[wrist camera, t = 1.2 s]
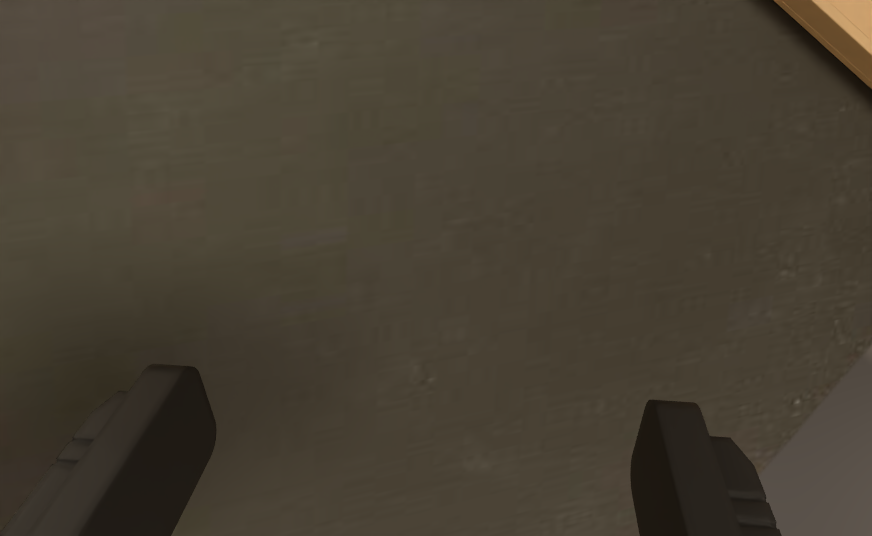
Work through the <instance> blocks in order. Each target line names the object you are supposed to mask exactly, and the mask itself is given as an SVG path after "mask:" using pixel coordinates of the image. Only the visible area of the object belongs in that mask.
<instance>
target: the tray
mask: <svg viewBox="0 0 872 536" xmlns="http://www.w3.org/2000/svg"><path fill="white" fill-rule="evenodd" d="M774 1H775V2H776V3H777V4H778V5H779V6H780V7H781V8H782V9H783V10H785V11H786V12H787V13H788V14H789V15H790V16H791V17H792V18H793V19H795V20H796V21H797V22H798V23H799V24H800V25H801V26H802V27H803V28H805V29H806V30H807V31H808V32H809V33H810V34H811V35H812V36H813V37H814V38H816V39H817V40H818V41H819V42H820V43H821V44H822V45H823V46H824V47H826V48H827V49H828V50H829V51H830V52H831V53H832V54H833V55H834V56H835V57H837V58H838V59H839V60H840V61H841V62H842V63H843V64H844V65H845V66H847V67H848V68H849V69H850V70H851V71H852V72H853V73H854V74H855V75H856V76H858V77H859V78H860V79H861V80H862V81H863V82H864V83H865V84H866V85H868V86H869V87H870V88H871V89H872V0H774Z"/></svg>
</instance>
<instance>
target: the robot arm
mask: <svg viewBox="0 0 872 536" xmlns="http://www.w3.org/2000/svg"><path fill="white" fill-rule="evenodd" d="M72 438H73V440H72V442H71V443H68V444H67V445H66V447H65V448H64V449H63V451H62V452H61V453H60V455H59V456H58V457H57V462H56V463H55V464H52V465H51V466H50V468H49V469H48V470H47V472H46V473H45V474H44V476H43V477H42V478H41V480H40V481H39V482H38V484H37V485H36V486H35V488H34V489H33V490H32V492H31V493H30V494H29V496H28V497H27V498H26V500H25V501H24V502H23V503H22V505H21V506H20V507H19V509H18V510H17V511H16V513H15V514H14V515H13V517H12V518H11V519H10V521H9V522H8V523H7V525H6V526H5V527H4V529H3V530H2V531H1V533H0V536H171V534H172V533H173V531H174V529H175V527H176V525H177V523H178V521H179V519H180V517H181V515H182V513H183V511H184V509H185V507H186V505H187V503H188V501H189V499H190V497H191V495H192V493H193V491H194V489H195V487H196V485H197V483H198V481H199V479H200V477H201V475H202V473H203V471H204V469H205V467H206V465H207V463H208V461H209V459H210V457H211V455H212V452H213V449H214V445H215V440H216V422H215V419H214V416H213V413H212V410H211V407H210V404H209V401H208V398H207V395H206V392H205V389H204V386H203V383H202V380H201V377H200V374H199V372H198V370H197V369H196V368H195V367H190V366H175V365H161V364H152V365H150V366H148V367H147V368H146V369H145V370H144V371H143V372H142V373H141V375H140V376H139V378H138V379H137V380H136V382H135V383H134V385H133V386H132V387H131V389H130V390H129V392H126V391H118V392H117V393H116V394H114V395H113V396H112V397H111V398H109V399H108V400H107V401H105V402H104V403H103V404H101V405H100V406H99V407H98V408H96V409H95V410H94V411H92V412H91V414H90V415H89V416H88V418H87V419H86V420H85V421H84V423H83V424H82V425H81V427H80V428H79V429H78V431H77V432H76V433H75V435H74V436H73V437H72ZM631 489H632V496H633V501H634V507H635V512H636V517H637V523H638V528H639V534H640V536H781V533H780V530H779V529H777V528H776V520H775V518H774V515H773V513H772V510H771V508H770V505H769V503H767V502H766V495H765V492H764V490H763V487H762V485H761V482H760V480H759V477H758V474H757V472H756V469H755V467H754V465H753V464H752V463H751V461H750V460H749V459H748V458H747V457H746V456H745V454H744V453H743V452H742V451H741V450H740V449H739V447H738V446H737V445H736V444H735V443H734V442H733V440H732V439H731V438H727V437H713V436H709V433H708V430H707V427H706V424H705V421H704V418H703V415H702V413H701V410H700V408H699V406H698V405H697V404H696V403H691V402H677V401H662V400H649V401H648V402H647V404H646V407H645V410H644V414H643V417H642V421H641V425H640V429H639V432H638V436H637V440H636V443H635V447H634V451H633V455H632V460H631Z"/></svg>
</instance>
